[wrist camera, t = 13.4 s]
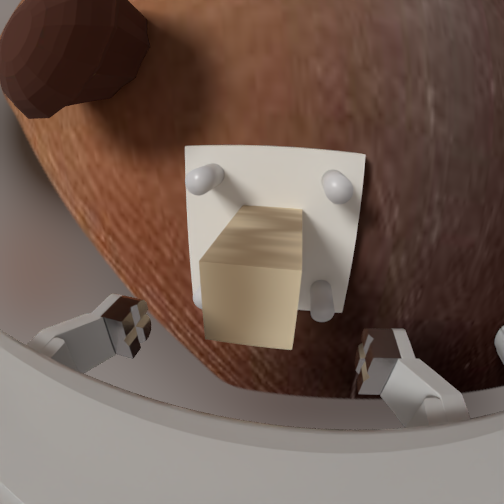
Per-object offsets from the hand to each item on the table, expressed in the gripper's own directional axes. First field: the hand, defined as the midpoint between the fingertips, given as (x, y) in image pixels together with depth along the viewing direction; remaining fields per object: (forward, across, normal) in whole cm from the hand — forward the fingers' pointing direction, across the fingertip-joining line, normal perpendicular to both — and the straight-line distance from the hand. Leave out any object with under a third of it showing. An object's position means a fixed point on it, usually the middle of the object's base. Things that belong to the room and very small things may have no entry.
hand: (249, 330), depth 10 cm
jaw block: (+11, 0, 0) cm, 11 cm away
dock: (+12, +1, 0) cm, 12 cm away
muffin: (+12, +15, -15) cm, 24 cm away
